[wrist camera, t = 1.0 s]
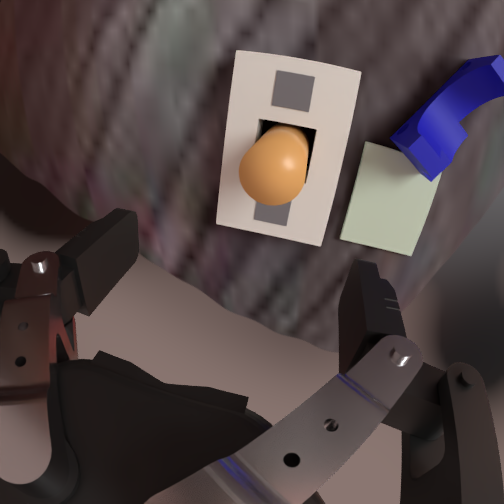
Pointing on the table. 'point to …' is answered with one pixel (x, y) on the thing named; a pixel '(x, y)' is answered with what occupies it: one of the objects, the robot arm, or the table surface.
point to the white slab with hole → (296, 113)
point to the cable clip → (449, 115)
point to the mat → (388, 201)
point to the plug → (276, 165)
